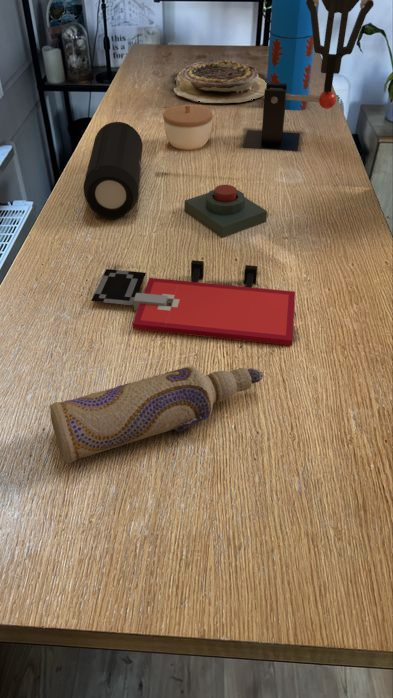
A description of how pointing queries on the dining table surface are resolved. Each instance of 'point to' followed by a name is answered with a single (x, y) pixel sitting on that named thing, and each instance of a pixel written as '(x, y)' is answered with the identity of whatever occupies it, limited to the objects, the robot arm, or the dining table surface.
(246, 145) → the bracket
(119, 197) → the portable speaker
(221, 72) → the pie
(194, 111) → the trinket box
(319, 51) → the robot arm
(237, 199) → the button box
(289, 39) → the thermos
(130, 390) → the decorative bottle
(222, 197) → the button
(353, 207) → the dining table surface
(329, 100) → the lever
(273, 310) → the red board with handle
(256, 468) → the dining table surface
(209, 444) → the dining table surface
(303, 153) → the dining table surface
